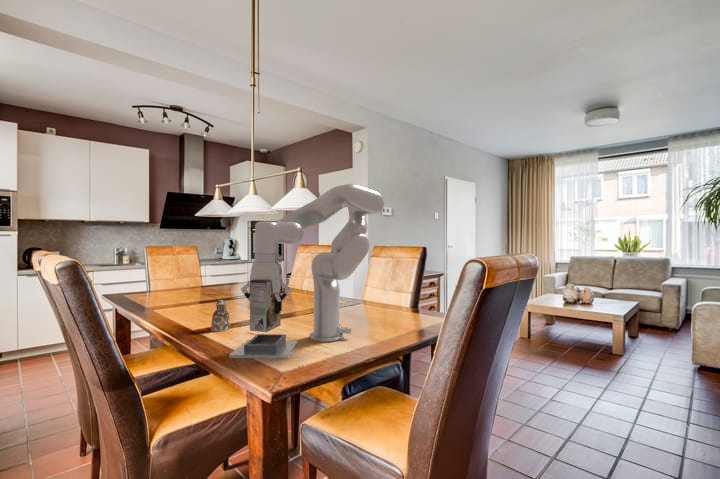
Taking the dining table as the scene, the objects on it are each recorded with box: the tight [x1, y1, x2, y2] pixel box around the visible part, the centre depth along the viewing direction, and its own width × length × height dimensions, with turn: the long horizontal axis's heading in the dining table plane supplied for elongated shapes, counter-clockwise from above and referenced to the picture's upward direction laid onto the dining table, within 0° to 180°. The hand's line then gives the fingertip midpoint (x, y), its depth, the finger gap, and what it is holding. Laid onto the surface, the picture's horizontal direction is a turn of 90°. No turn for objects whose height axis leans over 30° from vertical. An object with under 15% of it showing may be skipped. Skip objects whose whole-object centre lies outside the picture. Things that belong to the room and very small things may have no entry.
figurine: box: [210, 298, 231, 333], centre depth 143 cm, size 7×7×12 cm
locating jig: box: [228, 333, 299, 360], centre depth 117 cm, size 18×16×4 cm
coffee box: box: [249, 280, 282, 333], centre depth 117 cm, size 9×6×16 cm
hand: (265, 312), depth 117 cm, fingers closed on coffee box, 7 cm apart
